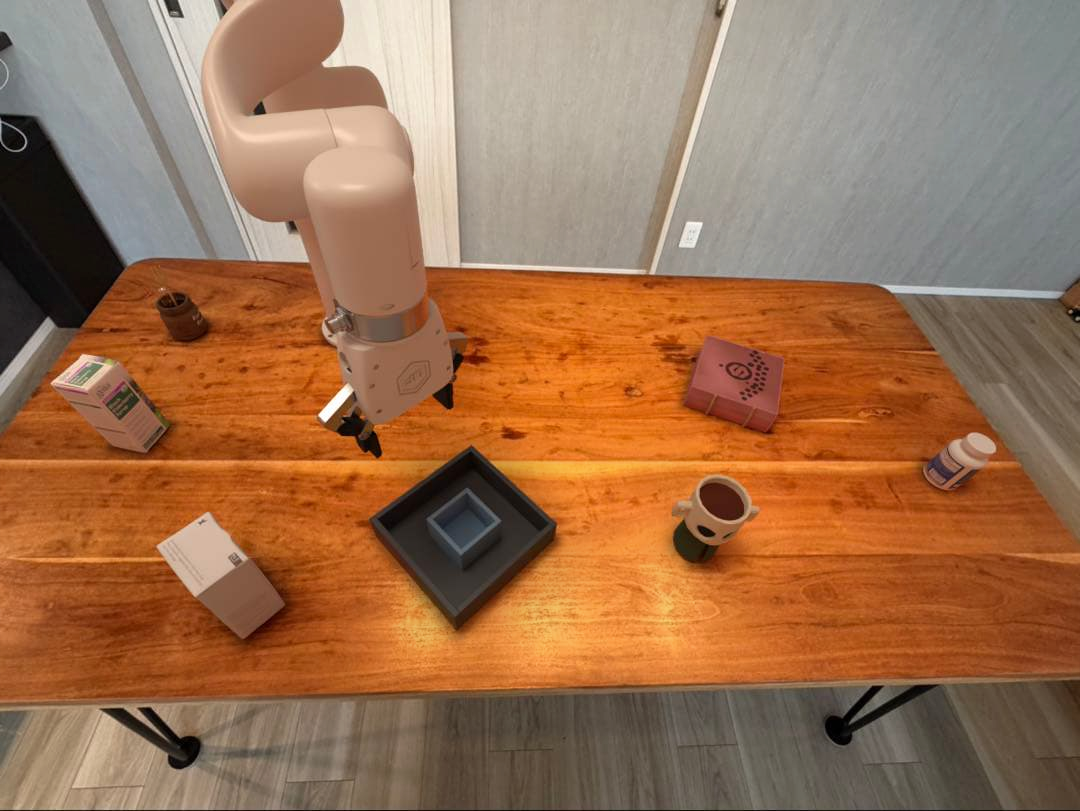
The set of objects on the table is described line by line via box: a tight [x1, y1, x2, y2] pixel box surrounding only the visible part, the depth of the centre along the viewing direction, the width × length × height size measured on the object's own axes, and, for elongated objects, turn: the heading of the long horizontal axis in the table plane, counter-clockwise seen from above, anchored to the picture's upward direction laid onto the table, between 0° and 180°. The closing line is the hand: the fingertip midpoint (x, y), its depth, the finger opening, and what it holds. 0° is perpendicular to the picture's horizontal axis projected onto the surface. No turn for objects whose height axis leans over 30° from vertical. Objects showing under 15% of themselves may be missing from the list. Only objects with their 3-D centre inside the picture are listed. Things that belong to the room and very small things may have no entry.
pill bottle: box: [922, 432, 997, 492], centre depth 81 cm, size 5×5×10 cm
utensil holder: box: [149, 264, 208, 341], centre depth 90 cm, size 6×6×12 cm
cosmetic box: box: [156, 511, 286, 640], centre depth 59 cm, size 8×6×15 cm
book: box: [683, 334, 786, 433], centre depth 92 cm, size 14×15×5 cm
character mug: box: [671, 473, 761, 564], centre depth 69 cm, size 11×7×13 cm, turn 88°
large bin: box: [368, 444, 558, 631], centre depth 70 cm, size 18×18×5 cm
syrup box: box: [50, 353, 171, 454], centre depth 74 cm, size 6×6×14 cm
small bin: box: [427, 488, 502, 571], centre depth 70 cm, size 7×7×5 cm
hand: (408, 424), depth 57 cm, fingers open, 9 cm apart
